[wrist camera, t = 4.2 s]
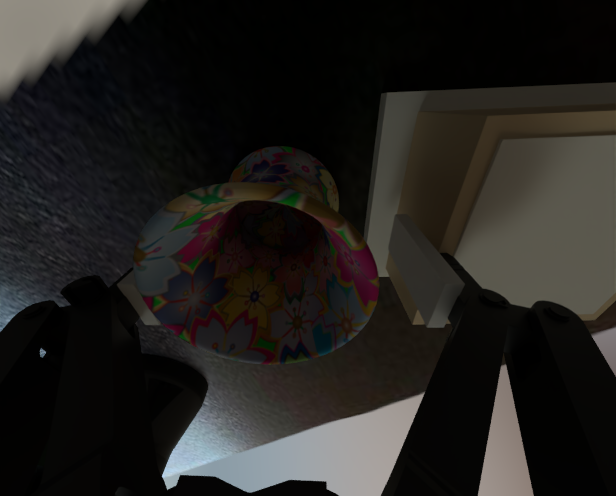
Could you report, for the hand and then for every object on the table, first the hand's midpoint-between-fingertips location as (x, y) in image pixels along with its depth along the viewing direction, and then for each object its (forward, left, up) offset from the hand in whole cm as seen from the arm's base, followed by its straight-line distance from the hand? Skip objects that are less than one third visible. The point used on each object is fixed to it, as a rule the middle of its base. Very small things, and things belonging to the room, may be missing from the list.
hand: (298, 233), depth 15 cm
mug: (0, 0, -4) cm, 4 cm away
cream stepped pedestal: (+14, +1, -3) cm, 14 cm away
